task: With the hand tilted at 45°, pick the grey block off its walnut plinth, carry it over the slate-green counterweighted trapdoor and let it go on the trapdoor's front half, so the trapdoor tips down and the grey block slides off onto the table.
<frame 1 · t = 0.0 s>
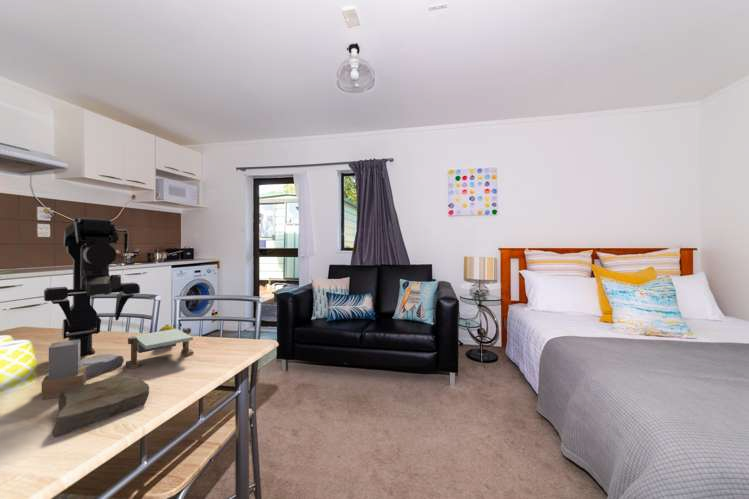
hand: (94, 323, 84), 15 cm above the table, tool pointing down, fingers open, 9 cm apart
stone block: (90, 372, 89), on the table
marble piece: (98, 410, 68), on the table
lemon: (166, 347, 110), on the table
trapdoor: (162, 344, 97), point 5 cm above the table, hinge at 0.0°
plinth: (65, 390, 76), on the table
trapdoor frame: (161, 359, 98), on the table
grey block: (65, 374, 76), point 4 cm above the table, touching plinth
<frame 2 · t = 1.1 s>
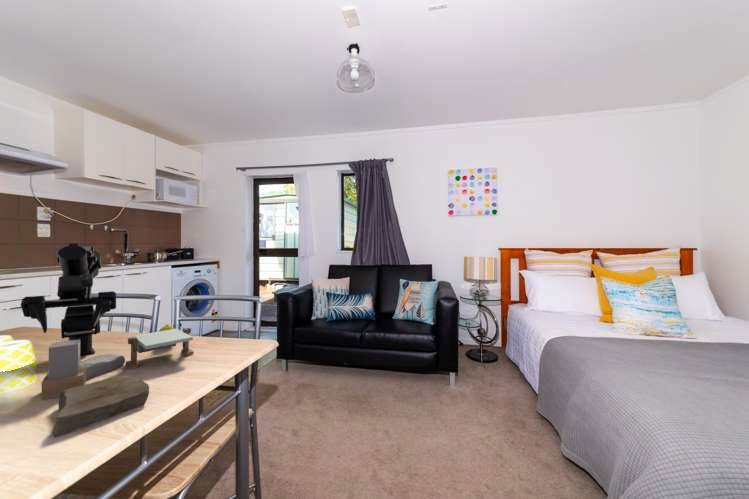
hand: (69, 329, 83), 13 cm above the table, tool tilted 45°, fingers open, 9 cm apart
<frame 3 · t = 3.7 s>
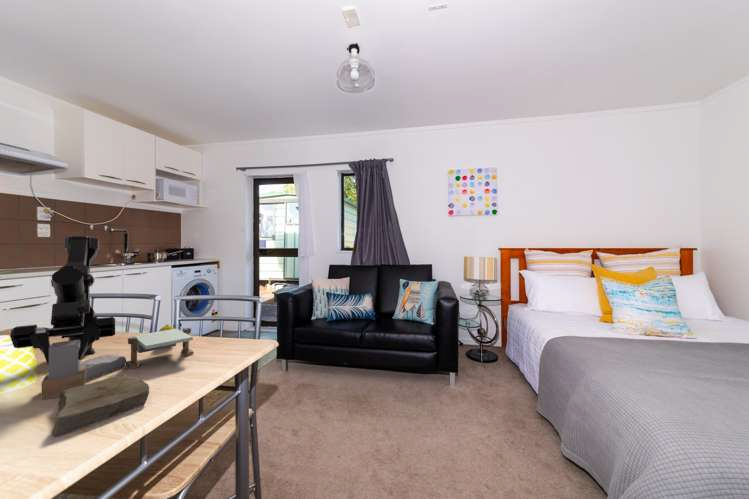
hand: (64, 361, 75), 7 cm above the table, tool tilted 45°, fingers closed on grey block, 5 cm apart
grey block: (65, 374, 76), point 4 cm above the table, touching gripper, plinth
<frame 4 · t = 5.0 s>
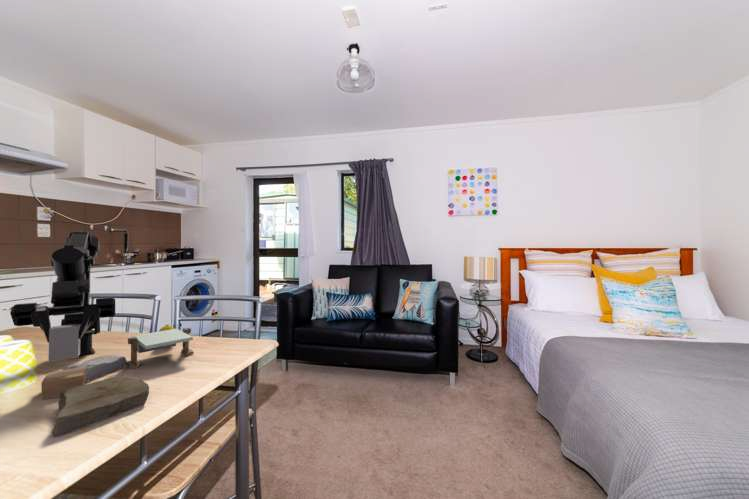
hand: (64, 339, 75), 13 cm above the table, tool tilted 45°, fingers closed on grey block, 5 cm apart
grey block: (65, 357, 76), point 8 cm above the table, touching gripper
when the fingers open (13 cm above the table, at t = 6.4 s): grey block drops 6 cm, point 1 cm above the table.
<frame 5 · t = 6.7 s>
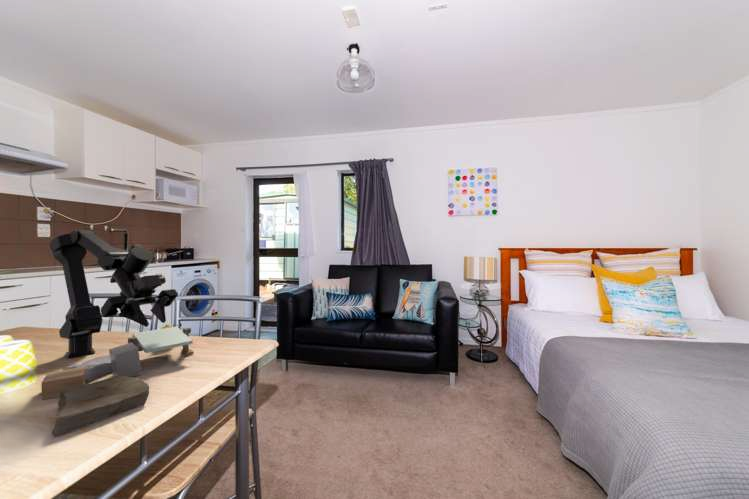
hand: (156, 323, 90), 13 cm above the table, tool tilted 45°, fingers open, 4 cm apart
trapdoor: (162, 344, 97), point 5 cm above the table, hinge at 7.2°
grey block: (127, 373, 85), point 1 cm above the table, tilted 11°
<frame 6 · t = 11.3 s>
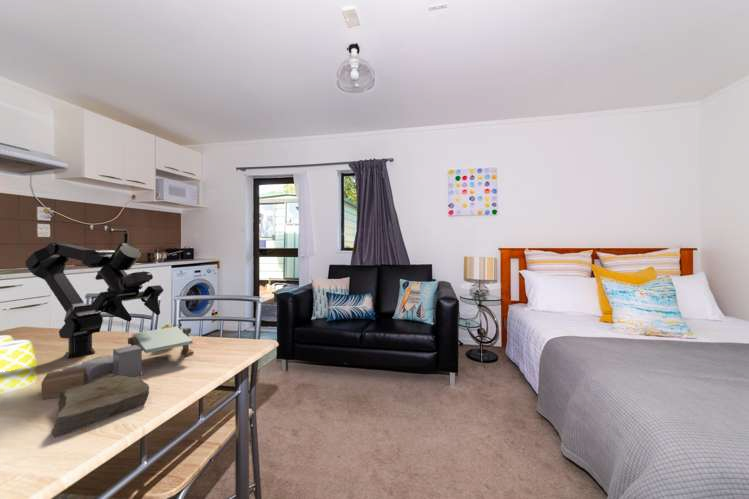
hand: (145, 317, 96), 14 cm above the table, tool tilted 45°, fingers open, 9 cm apart
grey block: (127, 376, 85), on the table
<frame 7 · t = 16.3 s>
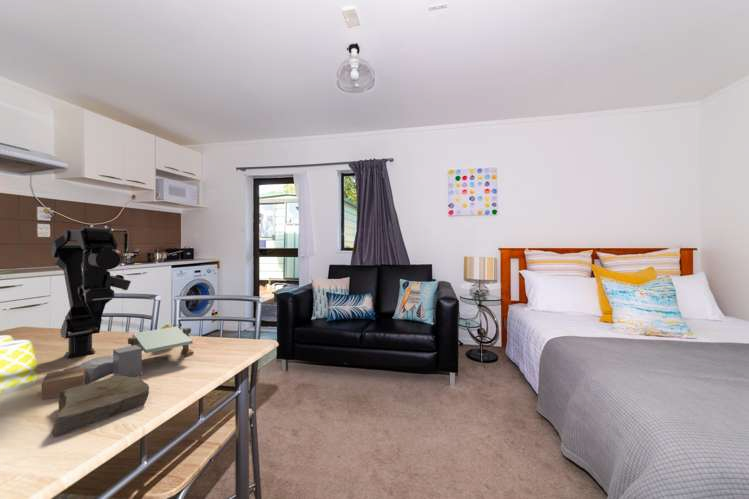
hand: (95, 319, 96), 13 cm above the table, tool pointing down, fingers open, 9 cm apart
at the end: grey block inside the target area (10.2 cm from its centre), on the table; grey block touching table; the gripper is holding nothing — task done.
